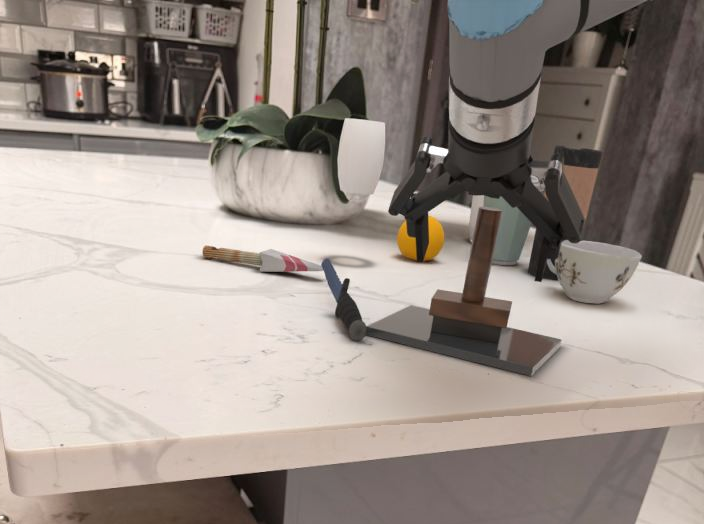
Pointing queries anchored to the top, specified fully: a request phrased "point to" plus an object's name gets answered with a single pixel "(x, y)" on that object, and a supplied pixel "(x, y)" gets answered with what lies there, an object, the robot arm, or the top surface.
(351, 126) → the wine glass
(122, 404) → the top surface
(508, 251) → the disposable coffee cup
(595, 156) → the travel mug
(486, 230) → the brush
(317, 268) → the paintbrush
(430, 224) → the orange
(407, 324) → the slate board
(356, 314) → the knife
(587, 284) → the teacup
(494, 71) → the robot arm
